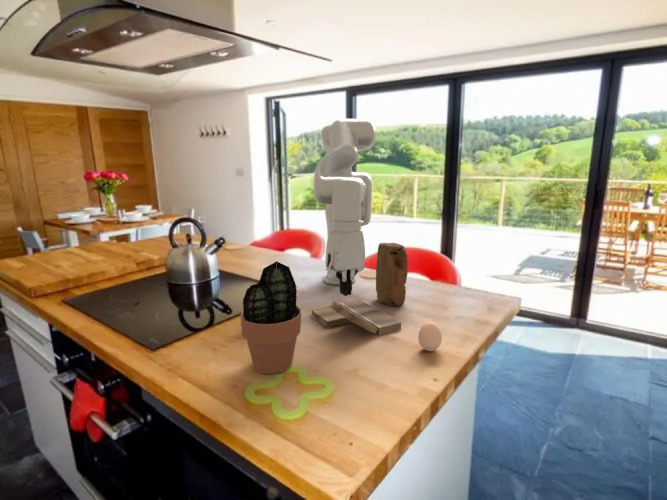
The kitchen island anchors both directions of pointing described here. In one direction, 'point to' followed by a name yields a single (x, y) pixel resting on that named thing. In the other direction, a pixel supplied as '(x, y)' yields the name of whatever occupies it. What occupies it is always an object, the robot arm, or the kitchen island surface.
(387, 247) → the block
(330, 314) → the plank
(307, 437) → the kitchen island surface
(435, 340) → the egg
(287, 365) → the potted plant
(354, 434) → the kitchen island surface
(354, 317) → the plank
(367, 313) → the laid board
